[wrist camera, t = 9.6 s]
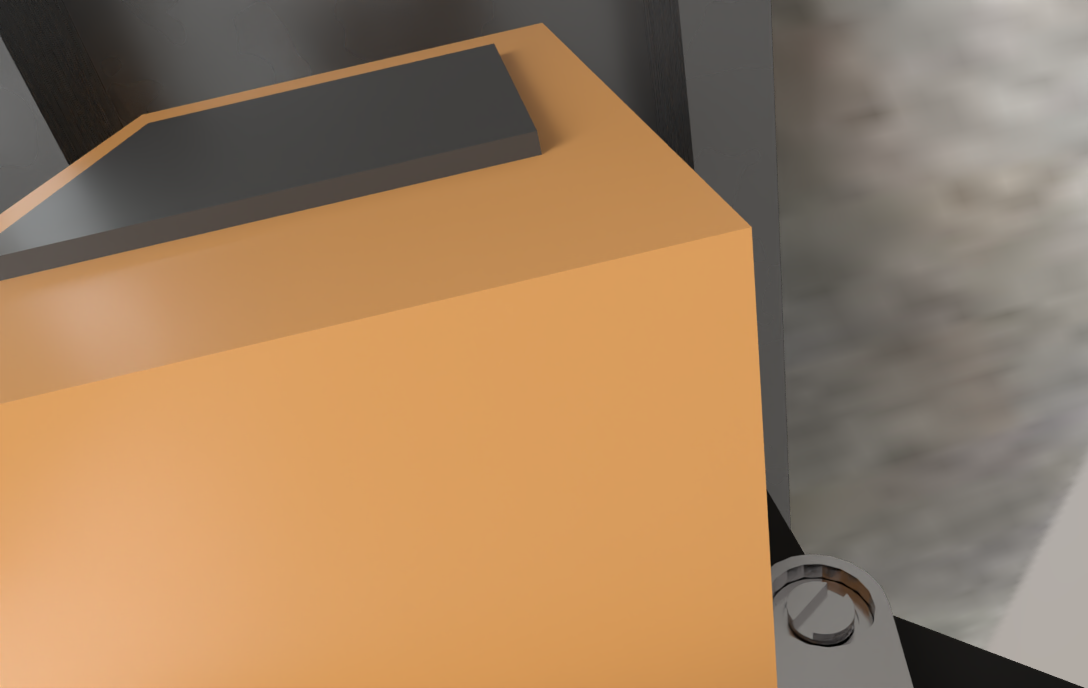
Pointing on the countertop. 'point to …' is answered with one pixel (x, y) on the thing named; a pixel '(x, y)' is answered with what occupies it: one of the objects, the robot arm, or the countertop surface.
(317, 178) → the orange pillar on base
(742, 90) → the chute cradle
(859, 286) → the countertop surface
